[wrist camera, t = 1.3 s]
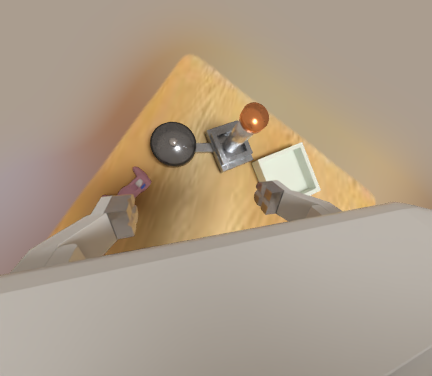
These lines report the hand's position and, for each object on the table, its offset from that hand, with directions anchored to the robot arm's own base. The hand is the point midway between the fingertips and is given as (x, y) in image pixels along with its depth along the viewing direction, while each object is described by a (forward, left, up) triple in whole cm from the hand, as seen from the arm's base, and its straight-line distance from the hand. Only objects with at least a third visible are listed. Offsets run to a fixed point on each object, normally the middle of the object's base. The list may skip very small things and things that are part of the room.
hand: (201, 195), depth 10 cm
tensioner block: (+7, -9, -26) cm, 28 cm away
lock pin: (+7, -13, -23) cm, 28 cm away
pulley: (+11, -1, -26) cm, 28 cm away
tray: (-5, -24, -26) cm, 35 cm away
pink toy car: (+6, +11, -26) cm, 29 cm away
